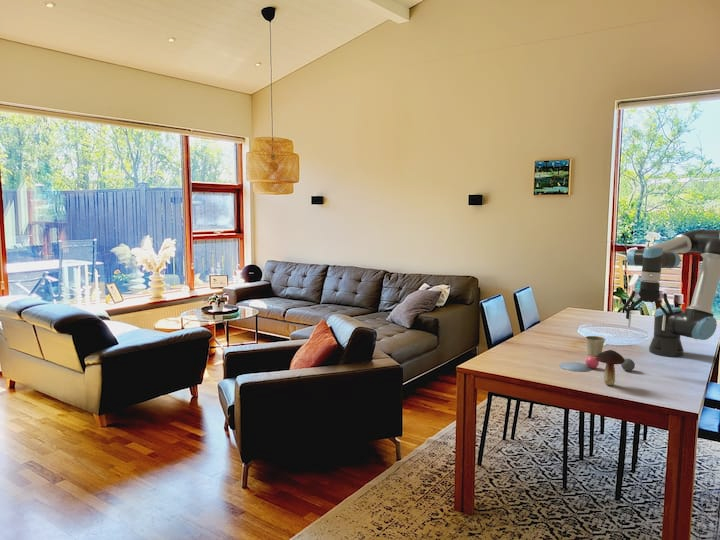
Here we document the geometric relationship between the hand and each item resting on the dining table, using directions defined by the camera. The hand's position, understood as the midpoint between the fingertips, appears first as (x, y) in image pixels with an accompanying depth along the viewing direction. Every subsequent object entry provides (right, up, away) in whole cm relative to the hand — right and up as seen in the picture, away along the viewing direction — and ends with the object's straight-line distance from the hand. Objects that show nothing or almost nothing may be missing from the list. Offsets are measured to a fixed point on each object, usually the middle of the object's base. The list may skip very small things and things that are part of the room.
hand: (645, 328), depth 238 cm
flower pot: (-11, -17, +28) cm, 34 cm away
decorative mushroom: (-24, -22, -16) cm, 37 cm away
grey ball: (-7, -17, +2) cm, 18 cm away
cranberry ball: (-21, -16, +6) cm, 28 cm away
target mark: (-28, -19, +9) cm, 35 cm away
